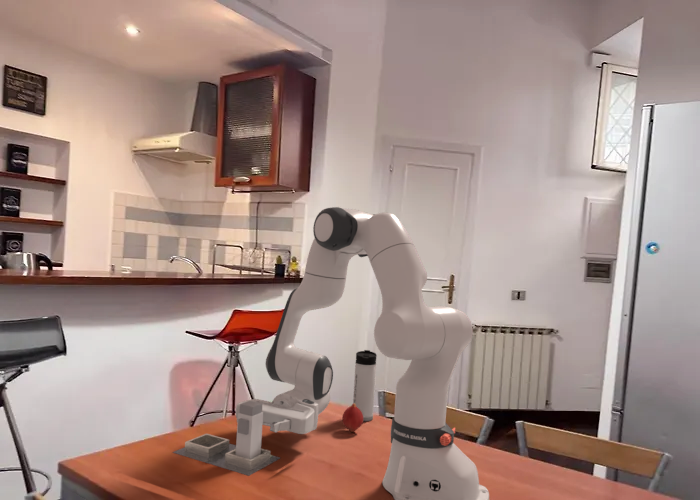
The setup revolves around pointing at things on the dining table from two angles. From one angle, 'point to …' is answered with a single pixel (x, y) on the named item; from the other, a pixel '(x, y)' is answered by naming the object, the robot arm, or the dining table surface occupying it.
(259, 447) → the plug
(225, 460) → the panel
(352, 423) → the onion
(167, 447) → the dining table surface
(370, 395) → the travel mug
